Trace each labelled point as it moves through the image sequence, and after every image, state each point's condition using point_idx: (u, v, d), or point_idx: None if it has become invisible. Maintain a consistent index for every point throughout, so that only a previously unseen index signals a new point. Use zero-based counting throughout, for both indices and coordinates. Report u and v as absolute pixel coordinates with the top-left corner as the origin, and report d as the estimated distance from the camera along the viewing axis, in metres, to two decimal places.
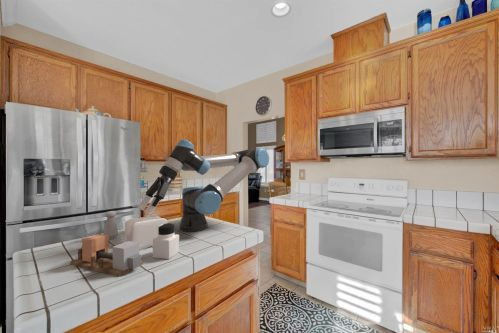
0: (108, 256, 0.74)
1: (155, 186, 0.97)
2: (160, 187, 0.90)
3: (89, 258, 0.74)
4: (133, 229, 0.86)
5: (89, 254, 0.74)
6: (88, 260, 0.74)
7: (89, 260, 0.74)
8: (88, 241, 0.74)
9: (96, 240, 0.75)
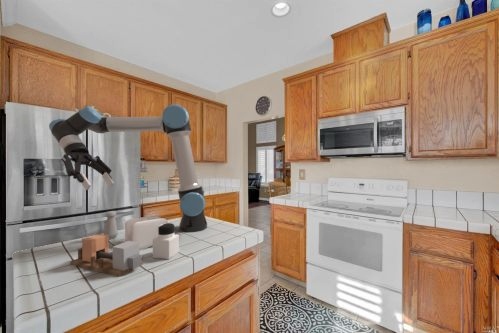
0: (108, 256, 0.74)
1: (91, 165, 0.91)
2: None
3: (89, 258, 0.74)
4: (133, 229, 0.86)
5: (89, 254, 0.74)
6: (88, 260, 0.74)
7: (89, 260, 0.74)
8: (88, 241, 0.74)
9: (96, 240, 0.75)
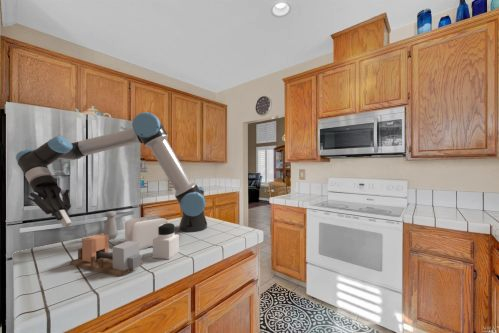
0: (108, 256, 0.74)
1: (54, 200, 0.85)
2: (47, 203, 0.83)
3: (89, 258, 0.74)
4: (133, 229, 0.86)
5: (89, 254, 0.74)
6: (88, 260, 0.74)
7: (89, 260, 0.74)
8: (88, 241, 0.74)
9: (96, 240, 0.75)
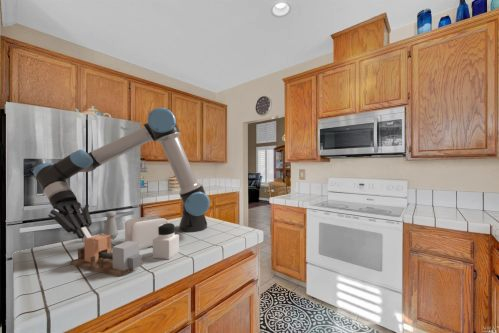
0: (108, 256, 0.74)
1: (74, 216, 0.82)
2: (67, 220, 0.79)
3: None
4: (133, 229, 0.86)
5: (91, 254, 0.73)
6: (90, 261, 0.74)
7: None
8: (90, 241, 0.73)
9: (99, 241, 0.75)
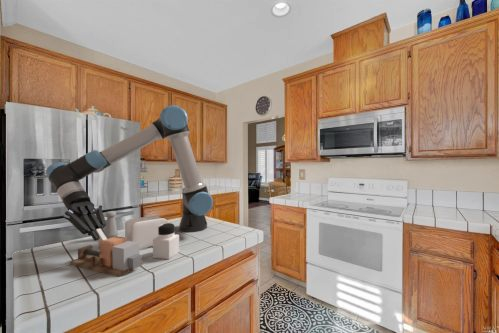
0: None
1: (88, 217, 0.79)
2: (82, 222, 0.77)
3: (107, 262, 0.71)
4: (133, 229, 0.86)
5: (107, 258, 0.71)
6: (106, 264, 0.71)
7: (107, 264, 0.71)
8: (106, 244, 0.71)
9: (114, 243, 0.72)
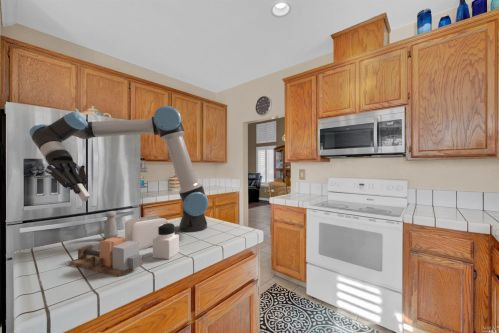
0: None
1: (70, 174, 0.83)
2: None
3: (107, 262, 0.71)
4: (133, 229, 0.86)
5: (107, 258, 0.71)
6: (106, 264, 0.71)
7: (107, 264, 0.71)
8: (106, 244, 0.71)
9: (114, 243, 0.72)
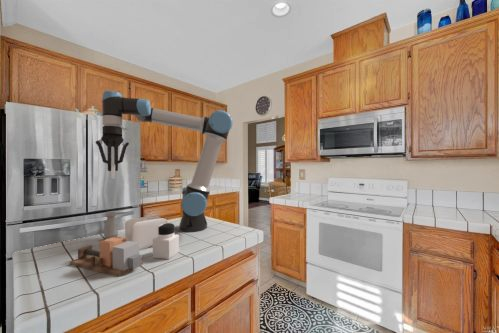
0: None
1: (114, 149, 0.97)
2: (107, 151, 0.96)
3: (107, 262, 0.71)
4: (133, 229, 0.86)
5: (107, 258, 0.71)
6: (106, 264, 0.71)
7: (107, 264, 0.71)
8: (106, 244, 0.71)
9: (114, 243, 0.72)
